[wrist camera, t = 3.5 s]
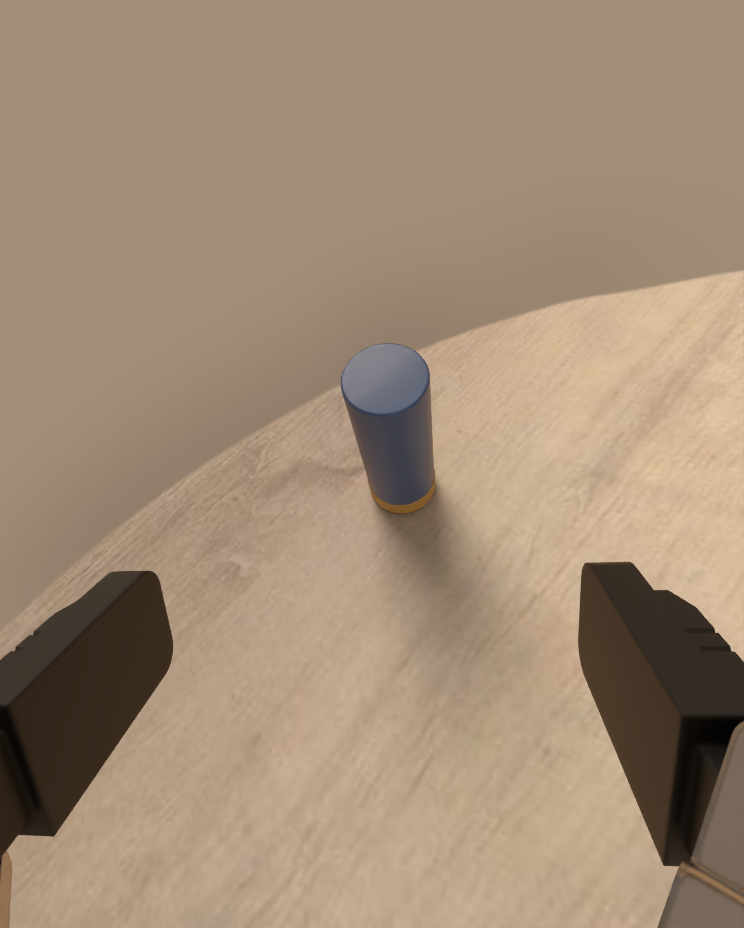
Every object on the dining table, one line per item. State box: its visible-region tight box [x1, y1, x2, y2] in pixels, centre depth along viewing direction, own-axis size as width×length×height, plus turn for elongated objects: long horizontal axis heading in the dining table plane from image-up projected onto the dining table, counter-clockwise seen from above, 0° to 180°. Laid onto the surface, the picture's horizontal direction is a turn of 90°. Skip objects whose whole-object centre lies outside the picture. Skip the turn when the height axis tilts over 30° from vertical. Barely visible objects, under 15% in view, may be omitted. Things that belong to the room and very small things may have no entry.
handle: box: [341, 343, 435, 514], centre depth 21 cm, size 3×3×8 cm
